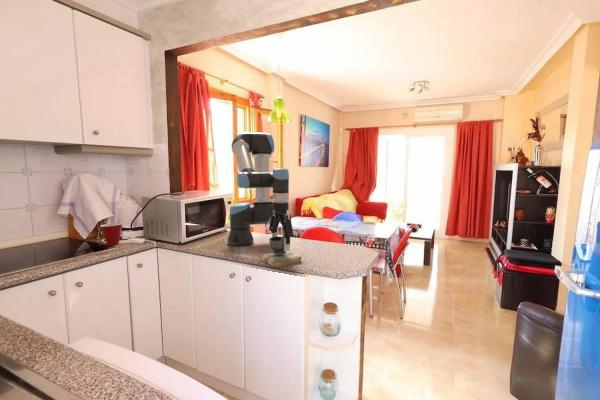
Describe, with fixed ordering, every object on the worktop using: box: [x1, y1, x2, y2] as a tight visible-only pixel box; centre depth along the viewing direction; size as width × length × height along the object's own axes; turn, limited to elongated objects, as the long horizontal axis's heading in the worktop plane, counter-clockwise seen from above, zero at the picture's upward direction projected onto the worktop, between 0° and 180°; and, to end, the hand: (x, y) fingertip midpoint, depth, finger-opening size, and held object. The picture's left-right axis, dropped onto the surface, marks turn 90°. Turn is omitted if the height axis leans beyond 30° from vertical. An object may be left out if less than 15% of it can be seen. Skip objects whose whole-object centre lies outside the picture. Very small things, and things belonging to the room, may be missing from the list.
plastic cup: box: [99, 222, 123, 247], centre depth 166 cm, size 11×11×12 cm
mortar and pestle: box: [268, 233, 286, 255], centre depth 139 cm, size 11×9×12 cm
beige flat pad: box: [259, 251, 302, 269], centre depth 140 cm, size 14×14×3 cm
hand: (280, 248), depth 139 cm, fingers closed on mortar and pestle, 10 cm apart
